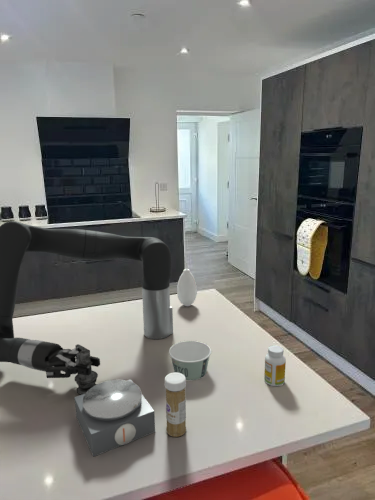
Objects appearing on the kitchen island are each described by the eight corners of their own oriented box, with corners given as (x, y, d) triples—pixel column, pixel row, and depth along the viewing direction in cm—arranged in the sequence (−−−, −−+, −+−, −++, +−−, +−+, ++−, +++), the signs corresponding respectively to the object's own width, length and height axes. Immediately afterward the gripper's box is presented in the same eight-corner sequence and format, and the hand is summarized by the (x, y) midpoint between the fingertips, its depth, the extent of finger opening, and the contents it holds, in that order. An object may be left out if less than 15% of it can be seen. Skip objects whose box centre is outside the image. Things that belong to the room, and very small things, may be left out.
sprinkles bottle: (162, 431, 84) (160, 378, 81) (175, 420, 88) (174, 369, 84) (177, 441, 81) (176, 386, 78) (190, 429, 85) (190, 376, 81)
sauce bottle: (185, 300, 159) (184, 259, 155) (200, 304, 155) (200, 262, 151) (173, 306, 153) (172, 264, 149) (189, 310, 149) (188, 267, 144)
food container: (218, 366, 110) (218, 345, 108) (199, 388, 100) (199, 366, 98) (182, 356, 116) (181, 336, 114) (161, 376, 105) (160, 355, 104)
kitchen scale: (131, 398, 96) (130, 379, 95) (156, 433, 84) (155, 412, 82) (76, 417, 89) (74, 397, 88) (94, 458, 77) (92, 436, 76)
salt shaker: (92, 396, 96) (89, 354, 93) (71, 394, 97) (67, 352, 94) (102, 383, 101) (99, 342, 98) (82, 380, 103) (78, 340, 100)
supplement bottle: (285, 377, 104) (287, 345, 102) (283, 388, 99) (285, 355, 97) (265, 374, 106) (266, 342, 103) (262, 384, 101) (264, 352, 98)
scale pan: (129, 383, 94) (129, 373, 94) (151, 412, 83) (150, 402, 83) (77, 400, 88) (76, 390, 87) (93, 434, 77) (92, 423, 76)
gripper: (19, 355, 95) (76, 368, 89) (56, 331, 108) (108, 340, 102) (22, 382, 97) (79, 395, 91) (58, 354, 110) (110, 365, 104)
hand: (94, 366), depth 97 cm, fingers closed on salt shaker, 3 cm apart
